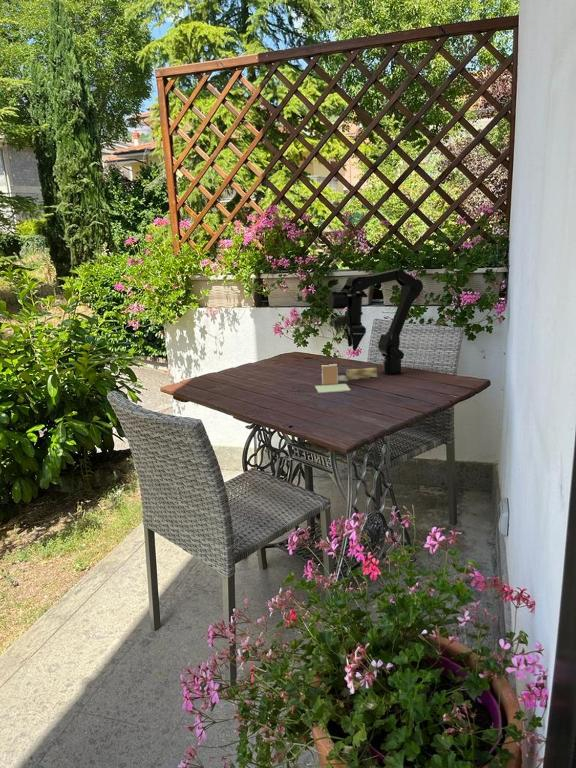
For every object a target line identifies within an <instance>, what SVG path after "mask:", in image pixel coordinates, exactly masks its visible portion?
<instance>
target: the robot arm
mask: <svg viewBox="0 0 576 768" xmlns="http://www.w3.org/2000/svg"><path fill="white" fill-rule="evenodd" d="M392 281H396V282H397V284H398V285H399V286H401V288H400V300H399V302H398V305H397V308H396V310H395V313H394V315H393V319H392V321H391V323H390V326H389V328H388V331H387V332H386V333H385V334H383V333H382V334H381V335H380V337H379V340H378V342H377V345H378V346H377V349H378V350H379V352H380V353H381V356H382V357H383V361H382V372H383V373H384V374H386V375H395V374H396V375H398V374H399V373H400V374H403V371H402V360H403V359H404V356H405V353H404V352H403V351H402V350H401V349H400V344H401V343H400V342H401V340H400V335H401V333H402V331H403V327H404V325H405V322H406V320H407V317H408V315H409V313H410V310H411V307H412V305H413V303H414V302H415V300H416V299H418V297H419V296H420V294H421V293H422V291H423V289H424V284H423V282H422V280H421V279H418V278H415V277H414V276H412V275H411V274H409V273H407V272H406V271H405V270H404V269H402V268H393V269H390V270H386V271H382V272H377V273H374V274H373V273H372V274H370V275H369V274H368V275H350V276H348V277H347V279H346V281H345V284H344V286H343V287H342V288H341V290H340V291H335V290H330V294H329V296H328V299H327V306H328V309H329V310H344V309H346V310H345V311H344V314H343V315H339V316H336V317H334V318H331V323H332V326H333V328H334V329H337V328H340V327H341V330H343V331H344V332H345V334H346V335H345V336H346V339H347V346H348V347H350V348H351V347H352V351H353V352H354V351H357V349H358V348H359V345H360V343H361V341H362V339H363V338H364V336H365V334H366V333H367V328H366V327H365V326H364V325H363V323H362V315H363V312H364V311H362V309H363V298H368V297H369V296H368V295H367V294H366V293H365V290H367V289H369V288H370V287H372V286H374V285H379V284H383V283H389V282H392Z"/></svg>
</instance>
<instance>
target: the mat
mask: <svg viewBox="0 0 576 768" xmlns="http://www.w3.org/2000/svg"><path fill="white" fill-rule="evenodd" d="M314 387H315V389H316V391H317V393H318V394H326V393H329V394H330V393H340V392H341V393H342V392H351V388H350V387H349V386H348V385H347V383H338V384H335V385H322V384H321V385H315V386H314Z"/></svg>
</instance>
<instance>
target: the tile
mask: <svg viewBox="0 0 576 768" xmlns="http://www.w3.org/2000/svg"><path fill="white" fill-rule="evenodd" d="M337 365H338V364H337V363H332V364H329V365H321V386H322V385H335V384H339V382H338V376H339V374H338V373H339V371H338V370H339V369H338V367H337Z"/></svg>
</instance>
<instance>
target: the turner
mask: <svg viewBox="0 0 576 768" xmlns="http://www.w3.org/2000/svg"><path fill="white" fill-rule="evenodd" d="M370 377H377V378H378V369H377V367H365V368H363V367H362V368H351V369H345V375H342V374H341V375H338V383H340V382H349V380H360V379H359V378H364V379H371V378H370Z"/></svg>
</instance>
